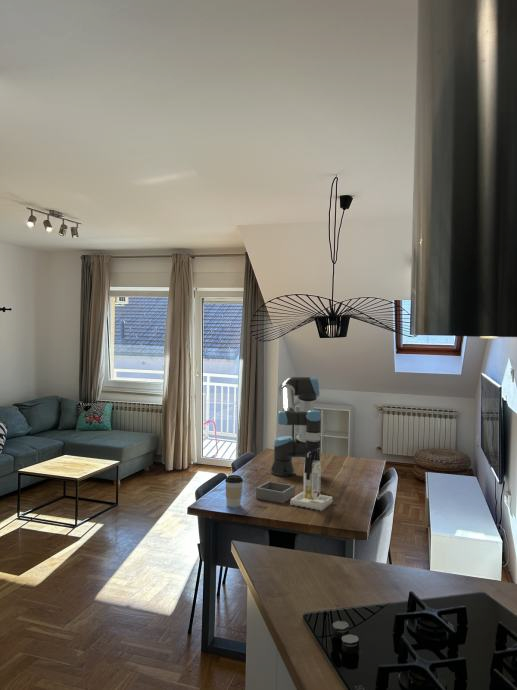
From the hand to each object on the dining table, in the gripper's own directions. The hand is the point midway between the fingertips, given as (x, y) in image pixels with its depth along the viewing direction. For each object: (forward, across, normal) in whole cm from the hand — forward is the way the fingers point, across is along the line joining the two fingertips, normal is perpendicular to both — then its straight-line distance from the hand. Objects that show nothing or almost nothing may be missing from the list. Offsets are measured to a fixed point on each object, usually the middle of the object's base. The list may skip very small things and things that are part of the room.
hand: (312, 483), depth 255 cm
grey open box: (+11, 0, +21) cm, 24 cm away
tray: (+11, 0, 0) cm, 11 cm away
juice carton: (+8, 0, 0) cm, 8 cm away
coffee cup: (+11, -24, +33) cm, 42 cm away
